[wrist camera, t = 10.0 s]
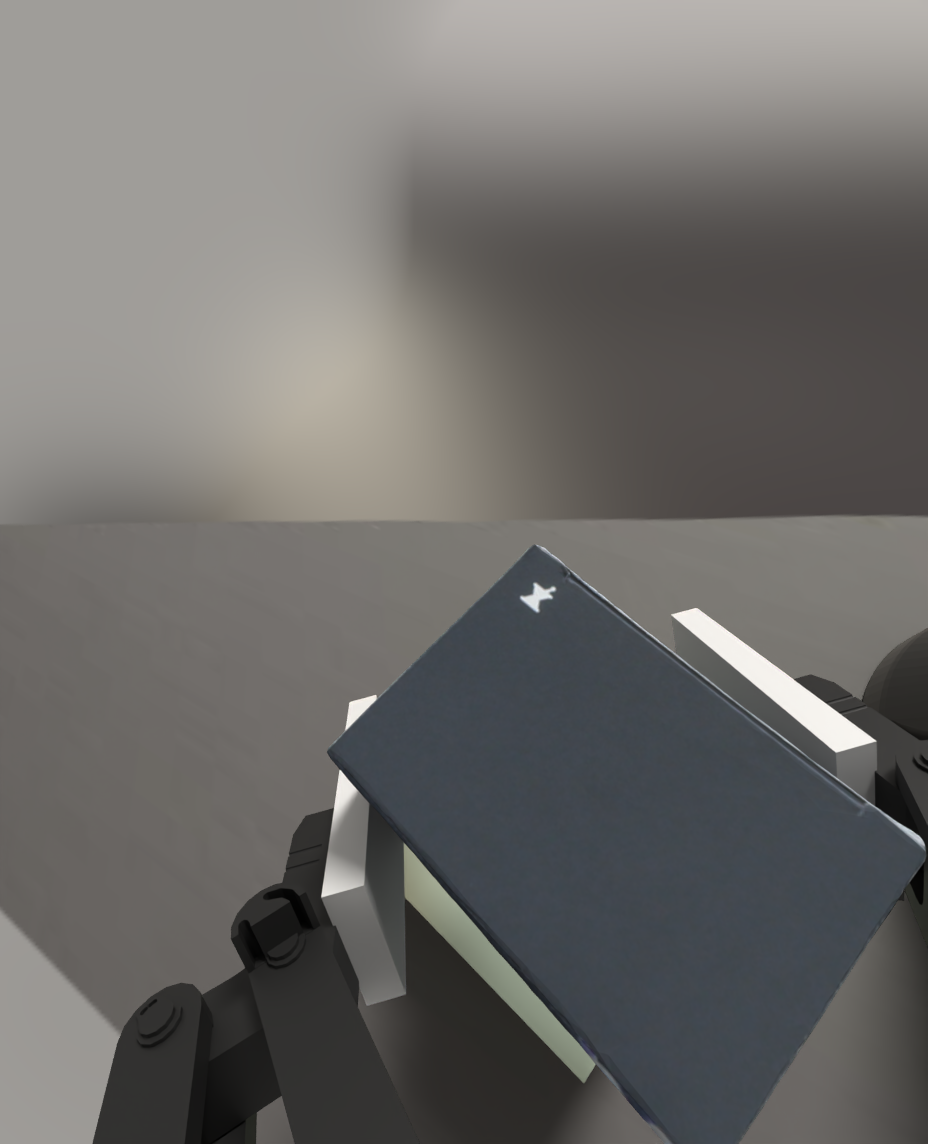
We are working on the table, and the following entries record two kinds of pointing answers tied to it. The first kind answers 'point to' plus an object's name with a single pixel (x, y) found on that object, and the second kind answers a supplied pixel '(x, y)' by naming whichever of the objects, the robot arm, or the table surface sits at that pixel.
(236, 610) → the table surface
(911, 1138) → the table surface
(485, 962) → the stand
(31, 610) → the table surface
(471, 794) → the box
